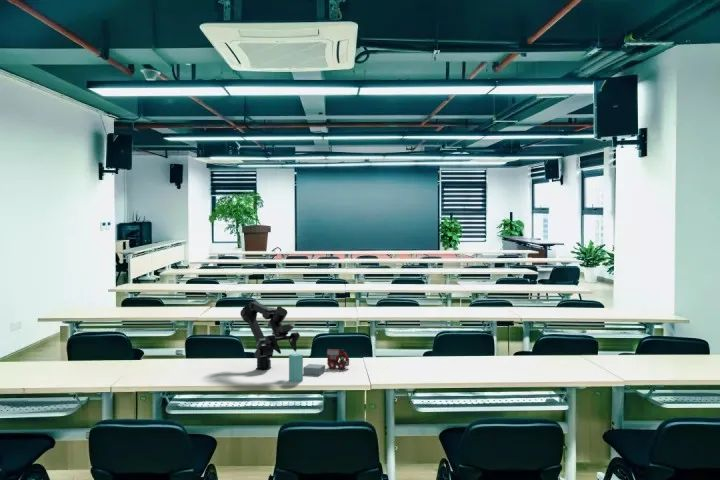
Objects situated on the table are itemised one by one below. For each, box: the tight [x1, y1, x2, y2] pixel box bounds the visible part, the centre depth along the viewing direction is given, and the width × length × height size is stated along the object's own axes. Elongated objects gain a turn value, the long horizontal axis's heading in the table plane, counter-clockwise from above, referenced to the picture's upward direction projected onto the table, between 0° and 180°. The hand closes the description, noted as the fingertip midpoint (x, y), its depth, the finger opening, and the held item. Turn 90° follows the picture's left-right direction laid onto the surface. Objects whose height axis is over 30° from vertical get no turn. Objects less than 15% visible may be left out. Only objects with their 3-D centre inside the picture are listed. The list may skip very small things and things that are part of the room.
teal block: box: [288, 353, 304, 383], centre depth 315 cm, size 5×5×13 cm
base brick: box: [303, 363, 326, 376], centre depth 331 cm, size 9×9×4 cm
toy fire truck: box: [326, 348, 350, 371], centre depth 343 cm, size 7×12×10 cm, turn 82°
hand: (288, 352), depth 320 cm, fingers open, 9 cm apart
